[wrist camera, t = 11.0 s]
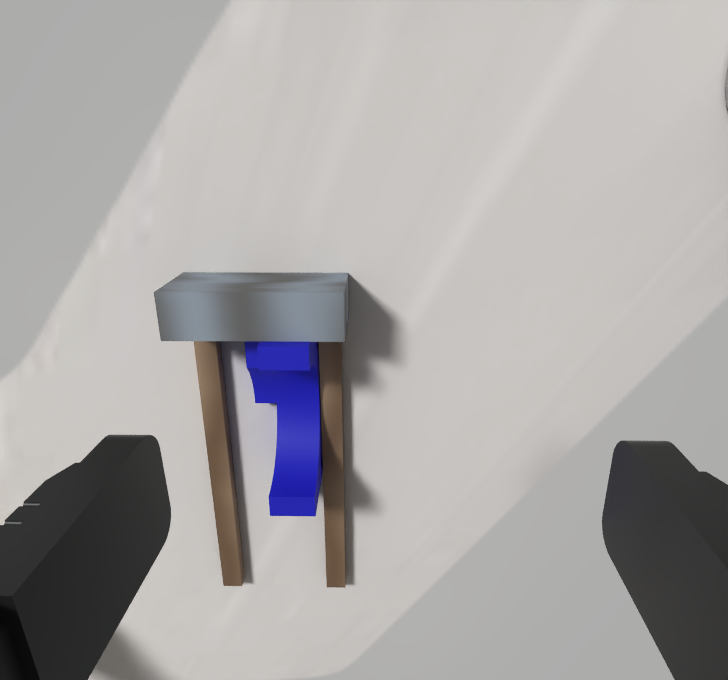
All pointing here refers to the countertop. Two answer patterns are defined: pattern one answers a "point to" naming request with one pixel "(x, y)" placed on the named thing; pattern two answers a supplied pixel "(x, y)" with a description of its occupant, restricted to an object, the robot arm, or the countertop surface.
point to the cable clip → (291, 420)
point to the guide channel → (262, 323)
